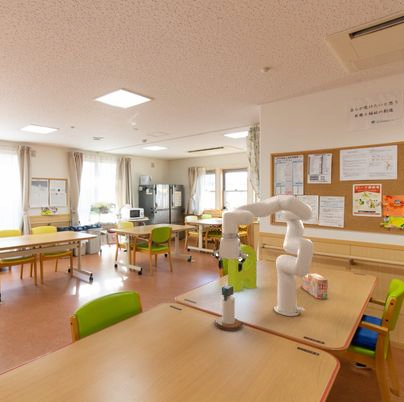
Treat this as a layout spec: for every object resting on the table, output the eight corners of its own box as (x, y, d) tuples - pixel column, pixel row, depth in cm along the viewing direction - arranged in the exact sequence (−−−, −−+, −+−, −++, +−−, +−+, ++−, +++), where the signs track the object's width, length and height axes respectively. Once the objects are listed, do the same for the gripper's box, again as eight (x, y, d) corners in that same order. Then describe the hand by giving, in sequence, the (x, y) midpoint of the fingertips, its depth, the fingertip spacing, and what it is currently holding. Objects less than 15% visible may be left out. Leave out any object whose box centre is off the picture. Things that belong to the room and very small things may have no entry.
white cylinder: (224, 315, 154) (224, 281, 153) (244, 323, 146) (244, 286, 145) (211, 323, 146) (212, 286, 145) (232, 331, 137) (232, 292, 137)
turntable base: (244, 323, 148) (244, 321, 148) (237, 333, 137) (237, 331, 137) (220, 317, 155) (220, 315, 155) (211, 326, 144) (211, 324, 144)
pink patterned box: (300, 287, 201) (301, 269, 201) (309, 287, 201) (310, 269, 201) (317, 298, 180) (317, 279, 179) (327, 299, 180) (327, 279, 179)
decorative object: (234, 292, 192) (234, 247, 191) (227, 289, 198) (227, 245, 197) (256, 287, 202) (256, 244, 200) (249, 284, 207) (249, 242, 206)
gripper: (249, 236, 143) (249, 270, 143) (216, 233, 152) (216, 265, 153) (245, 238, 136) (245, 274, 137) (210, 235, 146) (211, 269, 147)
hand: (230, 269), depth 145 cm, fingers open, 9 cm apart
